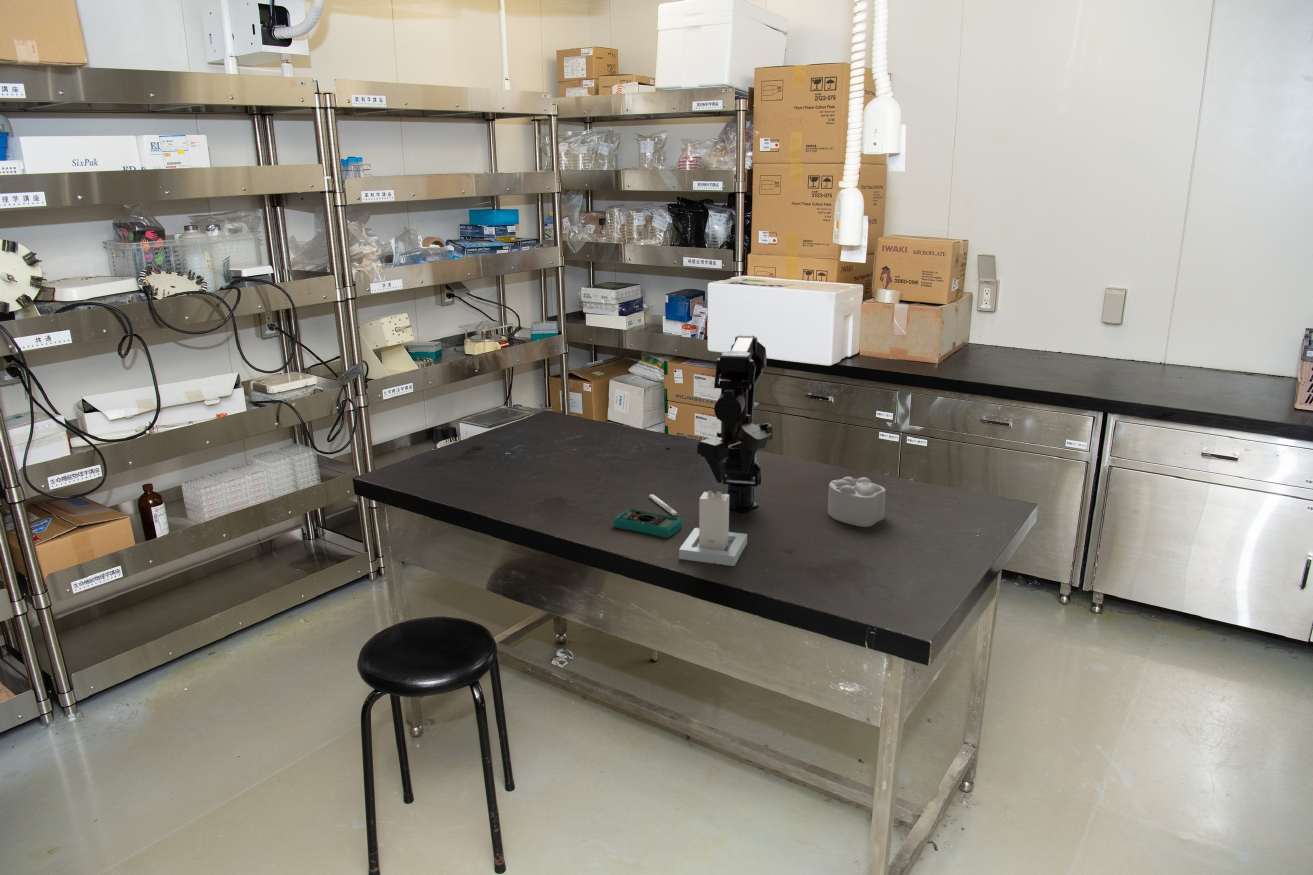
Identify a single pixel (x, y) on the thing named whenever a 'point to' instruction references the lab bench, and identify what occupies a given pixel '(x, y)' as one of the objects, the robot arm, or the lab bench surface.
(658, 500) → the white rod
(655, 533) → the digital multimeter
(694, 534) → the outlet plate
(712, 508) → the adapter
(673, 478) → the lab bench surface
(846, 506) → the lumpy-topped squat cylinder
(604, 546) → the lab bench surface
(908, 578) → the lab bench surface
